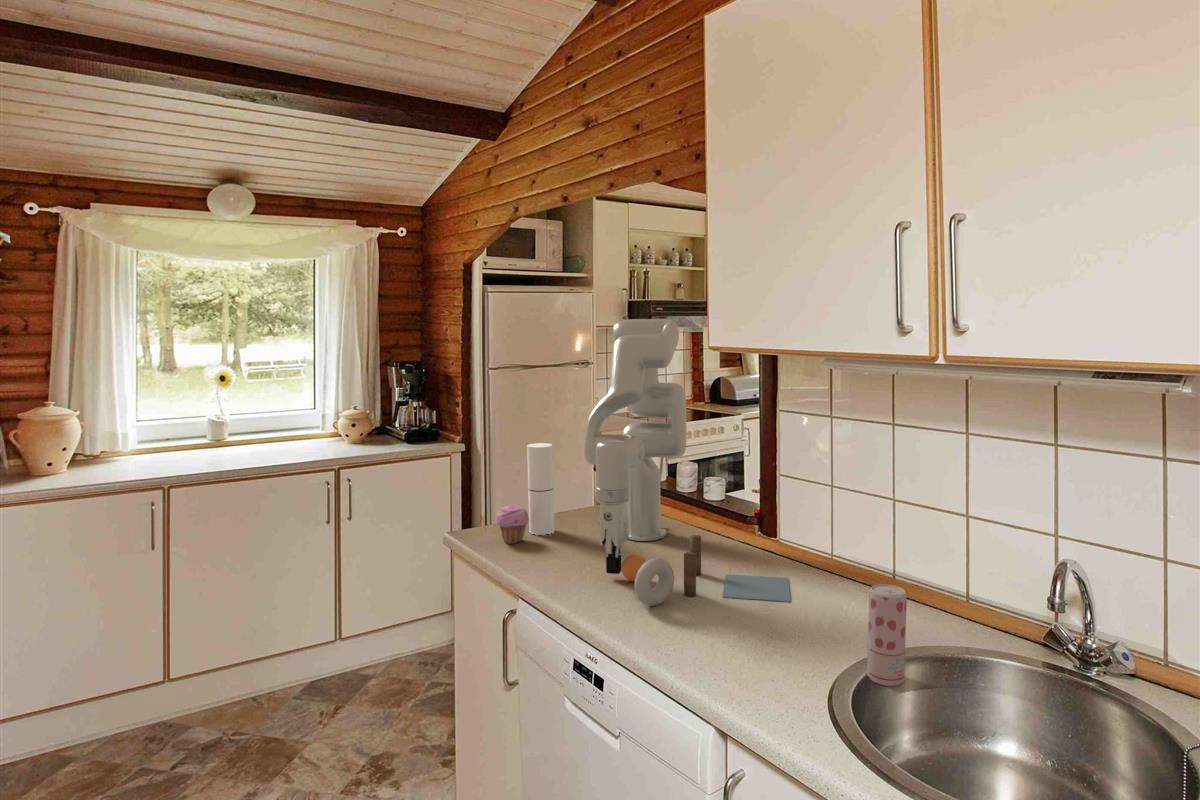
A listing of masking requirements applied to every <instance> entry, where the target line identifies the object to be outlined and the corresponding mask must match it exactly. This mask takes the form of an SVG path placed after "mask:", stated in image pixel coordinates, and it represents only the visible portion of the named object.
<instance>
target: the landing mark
mask: <svg viewBox="0 0 1200 800" xmlns="http://www.w3.org/2000/svg"><path fill="white" fill-rule="evenodd" d="M724 578H725V579H724V585H723V592H722V599H723V598H724V599H738V600H740V599H741V600H751V601H766V602H767V601H768V602H781V603H782V602H783V603H791V595H790V593H791V592H790V585H789V582H790V581H789V578H788V577H777V576H776V577H775V576H759V575H748V574H747V575H746V574H745V575H742V574H729V573H728V574H727V573H725V577H724Z"/></svg>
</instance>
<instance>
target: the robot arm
mask: <svg viewBox="0 0 1200 800" xmlns="http://www.w3.org/2000/svg"><path fill="white" fill-rule="evenodd" d="M612 335H613V339H614V343H613V346H612V354H611V355H612V356H611V364H610V373H609V374H610V375H609V383H608V391H607V393H606V395H605V396H604V397H603V398H602V399H600V401H599V402H598V403H597V404H596V405H595V406H594V408H593V409H592V411H591V412H590V414H589V417H588V418H587V421H586V428H585V434H584V443H583V444H584V445H583V454H584V459H585V460H586V462H587V463H588V464H590V465H592V466H595V477H596V479H595V482H596V483H595V485H596V486H595V488H596V492H595V493H596V494H595V495H596V496H595V497H596V498H595V499H596V502H597V503H598V504H599V505H600V506H599V509H600V510H599V544H600V546H601V547H603V548H604V547H605V552H604V553H605V564H606V565H605V568H606V569H605V572H606V573H607V574H613V575H619V574H621V573H622V555H621V554H622V547H623V545H624V544H625V543H626V541H627V540H631V541H638V542H651V541H657V540H661V539H663V538H666V536H667V529H666V528H664V527H662V526H661V524H662V521H661V518H662V516H661V513H662V512H661V472H660V469H659V467H658V465H657V463H656V462H655V461H654V459H653V458H664V459H665V458H667V459H668V458H669V459H670V458H672V459H673V458H674V459H675V458H681V457H682V456H683V455H684V454H685V453H686V449H687V398H686V397H687V396H686V391H685V389H684V388H683V386H682V385H681V384H680V383H676V382H675V383H674V382H660V381H659V369H665V368H667V367H668V366H670V364H671V362H672V360H673V358H674V354H675V352H676V350H677V347H678V344H679V340H680V338H679V337H680V331H679V326H678V324H677V322H676V321H674V319H671V318H634V319H633V318H630V319H623V320H618V322H616V323H615V324H614V325H613V328H612ZM625 408H627V409H628V410H627V411H628V412H629V414H630V415H631V416H633V417H638V418H657V419H658V418H659V419H661V418H662V419H663V418H664V419H665V418H666V419H667V420H668V422H658V421H657V422H655V421H637V422H636V421H635V422H632V423H628V424H627V425H626V426H624V428H623V430H622V434H612V433H611V434H610V433H609V434H608V433H607V434H606V433H605V434H604V433H601V434H600V430H601V427H602V425H603V423H604V422H605V421H606V419H608V417H610V416H611V415H612V414H615V413H616V412H618V411H620V410H622V409H625Z"/></svg>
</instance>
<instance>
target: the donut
mask: <svg viewBox="0 0 1200 800" xmlns="http://www.w3.org/2000/svg"><path fill="white" fill-rule="evenodd" d="M645 561H646V562H645V563H644V564H643V565H642V566H641V567H640V569H639V570H638V572H637V575H636V578H635V582H634V586H633V587H634V593H635V595H636V597H637V599H638V600H639V601H640V602H641V603H642V604H643V605H646V606H649V607H652V606H658V605H660V604H662V603H664V602H665V600H666V599H667V598H668V597H670V596H669V595H671V593H672V590H673V588H674V583H675V572H674V569H673V567H672V565H671V564H670V563H669V562H668V561H667V560H666V559H664V558H660V557H654V558H651V559H648V560H645ZM656 575H657V577H658V580H657V583H656V585H655V586H654V587H653V588H652V587H651V585H652V580H653V578H654V577H656Z"/></svg>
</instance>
